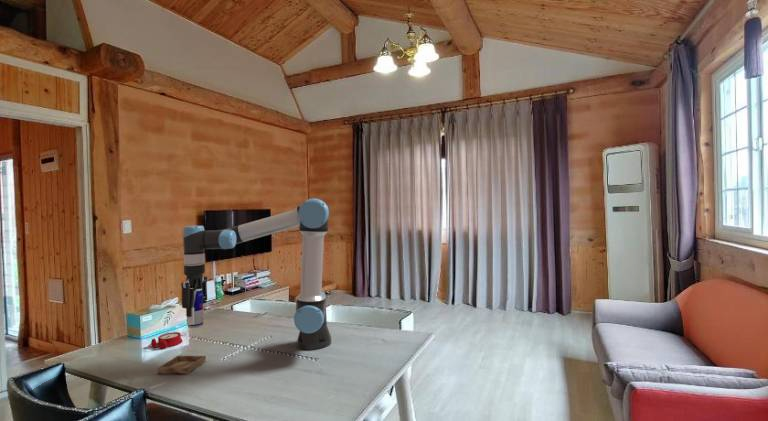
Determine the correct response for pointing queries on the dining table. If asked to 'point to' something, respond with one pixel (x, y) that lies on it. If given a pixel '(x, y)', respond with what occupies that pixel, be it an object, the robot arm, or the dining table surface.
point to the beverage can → (198, 309)
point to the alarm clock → (167, 340)
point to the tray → (181, 365)
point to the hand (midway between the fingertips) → (195, 321)
